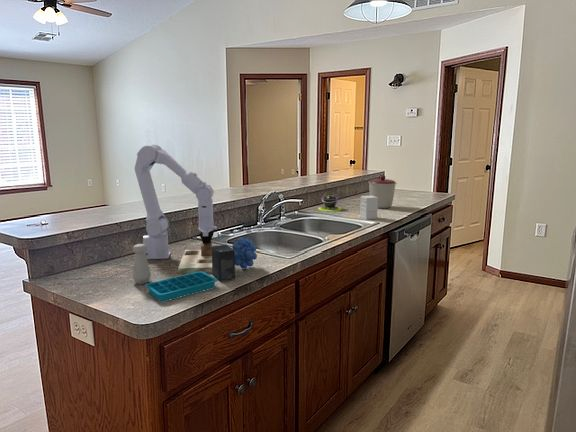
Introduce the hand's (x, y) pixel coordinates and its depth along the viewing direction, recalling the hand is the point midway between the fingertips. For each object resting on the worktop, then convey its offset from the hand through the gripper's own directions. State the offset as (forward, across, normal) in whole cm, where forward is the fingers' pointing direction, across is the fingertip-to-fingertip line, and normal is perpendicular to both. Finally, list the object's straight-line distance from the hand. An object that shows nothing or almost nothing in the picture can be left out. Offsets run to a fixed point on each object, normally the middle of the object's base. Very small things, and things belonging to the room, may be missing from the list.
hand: (207, 249), depth 169 cm
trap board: (+3, -8, +3) cm, 9 cm away
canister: (+3, +96, -107) cm, 144 cm away
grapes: (+3, -17, -15) cm, 23 cm away
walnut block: (+1, -3, 0) cm, 4 cm away
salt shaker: (+3, -26, +20) cm, 33 cm away
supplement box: (+3, +64, -88) cm, 109 cm away
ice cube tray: (+4, -35, +6) cm, 36 cm away
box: (+3, -24, -7) cm, 26 cm away
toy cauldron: (+3, +94, -72) cm, 119 cm away
